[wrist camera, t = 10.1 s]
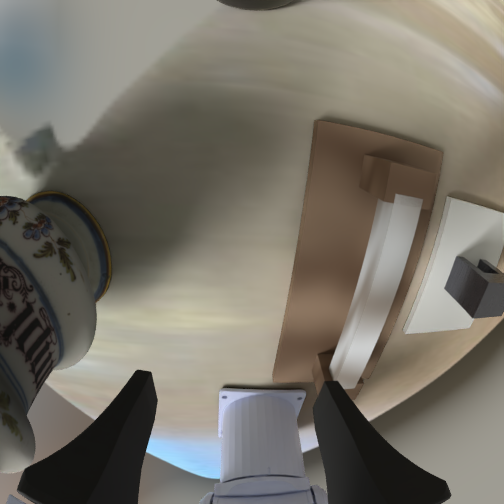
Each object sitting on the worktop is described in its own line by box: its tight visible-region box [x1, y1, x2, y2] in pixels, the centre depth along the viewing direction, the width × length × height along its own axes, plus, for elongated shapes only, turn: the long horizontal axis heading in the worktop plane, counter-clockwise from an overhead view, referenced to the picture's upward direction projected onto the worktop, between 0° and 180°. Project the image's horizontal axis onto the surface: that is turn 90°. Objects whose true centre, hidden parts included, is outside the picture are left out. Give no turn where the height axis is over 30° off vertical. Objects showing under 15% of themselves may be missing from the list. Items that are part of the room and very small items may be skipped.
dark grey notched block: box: [444, 256, 504, 318], centre depth 17 cm, size 3×4×4 cm
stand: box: [272, 120, 443, 400], centre depth 18 cm, size 20×9×4 cm, turn 175°
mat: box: [403, 196, 504, 334], centre depth 20 cm, size 12×9×1 cm
